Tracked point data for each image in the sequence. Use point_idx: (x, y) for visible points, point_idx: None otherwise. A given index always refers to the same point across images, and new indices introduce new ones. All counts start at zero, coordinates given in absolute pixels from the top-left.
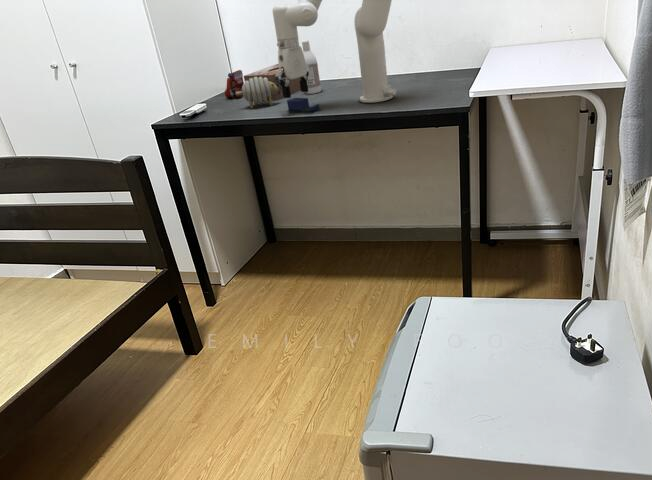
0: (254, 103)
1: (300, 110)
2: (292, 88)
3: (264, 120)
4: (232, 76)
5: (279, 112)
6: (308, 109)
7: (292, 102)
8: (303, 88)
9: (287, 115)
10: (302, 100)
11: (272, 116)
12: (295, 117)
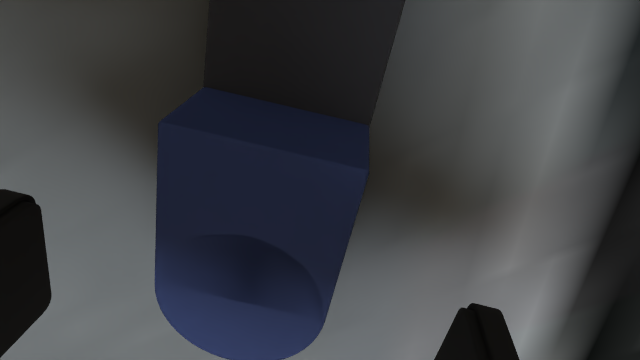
0: None
1: (368, 126)
2: None
3: (616, 353)
4: None
5: (333, 337)
6: (364, 8)
7: (339, 270)
8: (6, 290)
9: (469, 220)
10: (289, 152)
11: None
12: (608, 74)
